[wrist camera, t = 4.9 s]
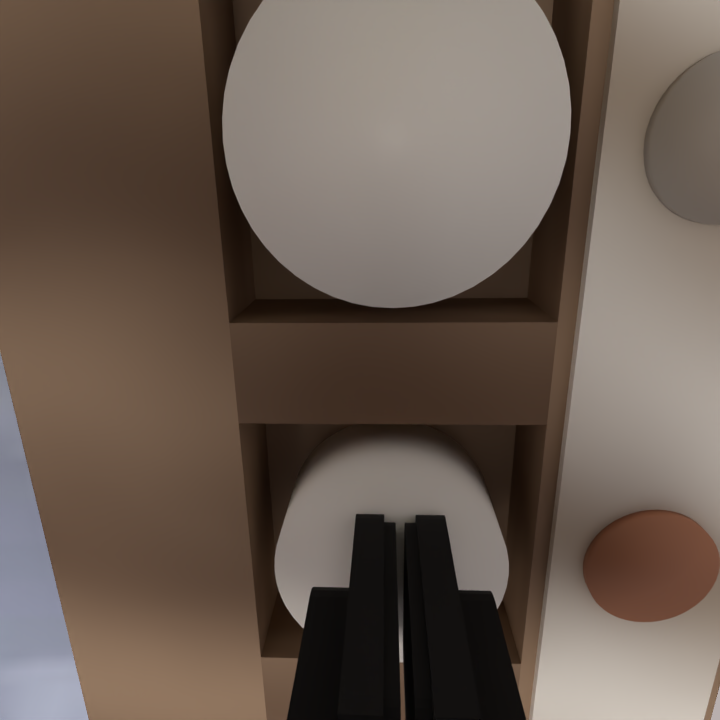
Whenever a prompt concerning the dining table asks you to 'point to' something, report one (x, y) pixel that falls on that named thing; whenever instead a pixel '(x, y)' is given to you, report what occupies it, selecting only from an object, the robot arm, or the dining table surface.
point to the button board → (359, 367)
